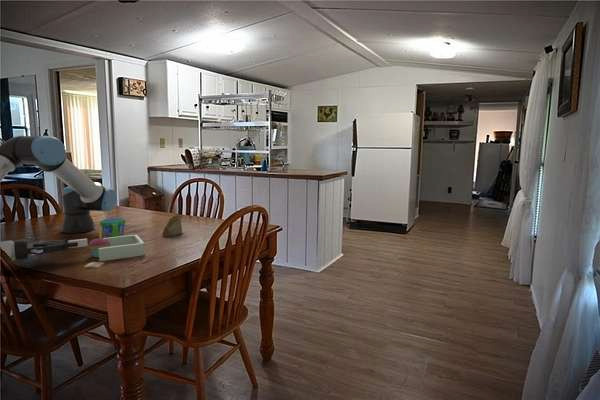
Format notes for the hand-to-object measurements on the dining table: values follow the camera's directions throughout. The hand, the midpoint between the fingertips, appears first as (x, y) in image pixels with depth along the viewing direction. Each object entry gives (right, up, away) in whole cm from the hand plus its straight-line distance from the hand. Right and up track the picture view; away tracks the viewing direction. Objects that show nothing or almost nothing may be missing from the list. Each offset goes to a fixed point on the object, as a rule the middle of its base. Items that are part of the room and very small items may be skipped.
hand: (87, 242), depth 157 cm
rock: (+21, -1, +40) cm, 45 cm away
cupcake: (+3, -6, +4) cm, 8 cm away
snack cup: (-1, -3, +26) cm, 26 cm away
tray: (+9, -5, +8) cm, 13 cm away
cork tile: (+8, -9, -9) cm, 14 cm away
